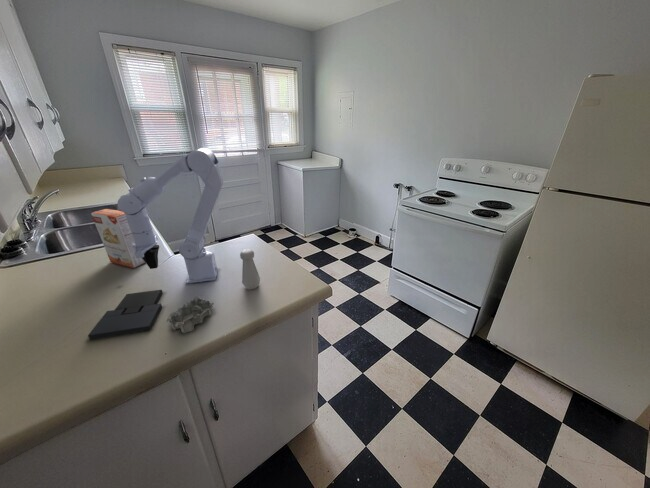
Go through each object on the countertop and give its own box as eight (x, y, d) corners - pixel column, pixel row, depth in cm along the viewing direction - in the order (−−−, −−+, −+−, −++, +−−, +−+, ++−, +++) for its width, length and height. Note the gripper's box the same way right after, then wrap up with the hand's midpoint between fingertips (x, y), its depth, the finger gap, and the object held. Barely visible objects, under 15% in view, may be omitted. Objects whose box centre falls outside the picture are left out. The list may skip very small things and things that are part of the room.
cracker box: (109, 263, 107) (89, 212, 98) (124, 256, 112) (107, 207, 103) (132, 269, 102) (114, 216, 93) (147, 262, 107) (131, 211, 98)
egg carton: (186, 336, 69) (182, 323, 68) (166, 327, 72) (162, 315, 70) (217, 311, 78) (214, 299, 76) (198, 304, 81) (195, 293, 79)
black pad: (162, 293, 87) (161, 289, 86) (151, 314, 77) (149, 310, 77) (128, 297, 85) (126, 293, 84) (111, 320, 75) (110, 315, 75)
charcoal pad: (162, 307, 80) (160, 303, 80) (150, 330, 71) (149, 325, 71) (108, 315, 77) (107, 310, 77) (89, 339, 68) (87, 335, 68)
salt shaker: (264, 283, 91) (260, 249, 86) (253, 292, 86) (248, 256, 81) (250, 280, 93) (245, 246, 88) (239, 288, 89) (233, 253, 83)
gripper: (136, 224, 91) (148, 259, 97) (117, 240, 79) (132, 280, 84) (159, 222, 93) (169, 257, 99) (144, 237, 80) (157, 277, 86)
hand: (154, 267), depth 92 cm, fingers closed
